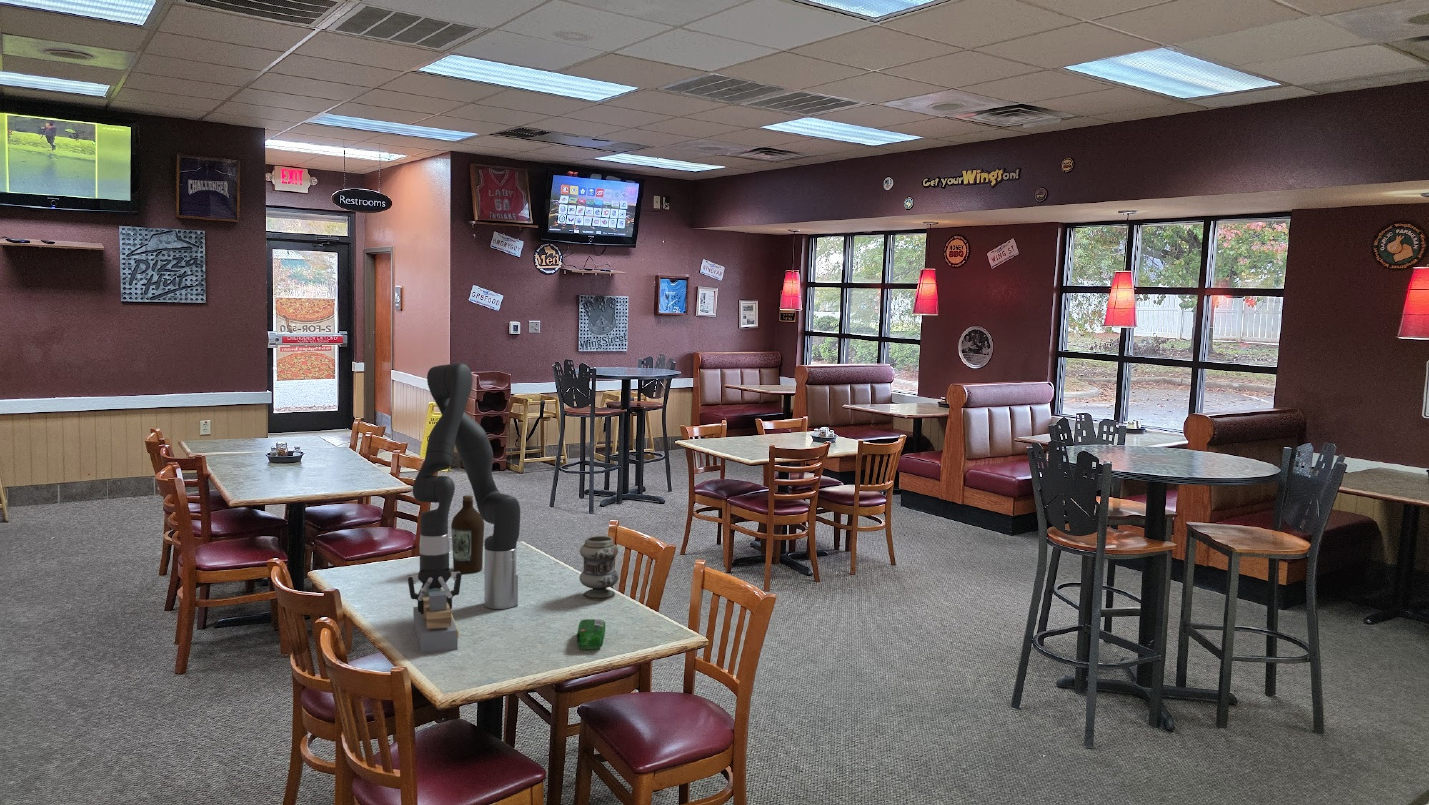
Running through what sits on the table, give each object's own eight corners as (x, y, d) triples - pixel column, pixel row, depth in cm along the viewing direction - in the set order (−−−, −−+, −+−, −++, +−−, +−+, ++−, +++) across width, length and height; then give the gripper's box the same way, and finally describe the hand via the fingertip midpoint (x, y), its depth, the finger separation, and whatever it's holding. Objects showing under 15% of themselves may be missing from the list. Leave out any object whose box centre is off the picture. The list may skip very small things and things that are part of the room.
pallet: (419, 604, 263) (419, 590, 262) (442, 602, 265) (442, 588, 264) (427, 629, 243) (427, 613, 243) (451, 626, 246) (451, 611, 245)
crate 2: (444, 605, 250) (444, 590, 249) (446, 610, 246) (446, 595, 246) (428, 607, 248) (428, 592, 248) (430, 611, 245) (430, 596, 244)
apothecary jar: (593, 587, 302) (594, 531, 300) (626, 593, 297) (626, 536, 295) (571, 597, 291) (571, 539, 290) (604, 604, 286) (604, 545, 284)
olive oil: (462, 564, 326) (462, 492, 323) (490, 567, 323) (490, 494, 320) (445, 572, 315) (444, 497, 313) (473, 575, 313) (473, 500, 310)
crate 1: (439, 590, 263) (438, 576, 262) (440, 594, 259) (440, 580, 259) (423, 591, 261) (423, 577, 261) (425, 595, 258) (425, 581, 257)
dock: (448, 621, 267) (448, 604, 266) (458, 649, 246) (458, 630, 245) (413, 624, 263) (413, 607, 263) (421, 653, 242) (421, 634, 242)
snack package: (606, 632, 261) (606, 614, 261) (602, 653, 246) (602, 633, 245) (580, 633, 261) (580, 614, 260) (575, 653, 245) (575, 633, 245)
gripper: (460, 545, 258) (460, 605, 260) (404, 549, 253) (405, 610, 255) (464, 551, 252) (464, 613, 253) (407, 556, 246) (407, 619, 248)
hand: (434, 612), depth 254 cm, fingers closed on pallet, 6 cm apart
